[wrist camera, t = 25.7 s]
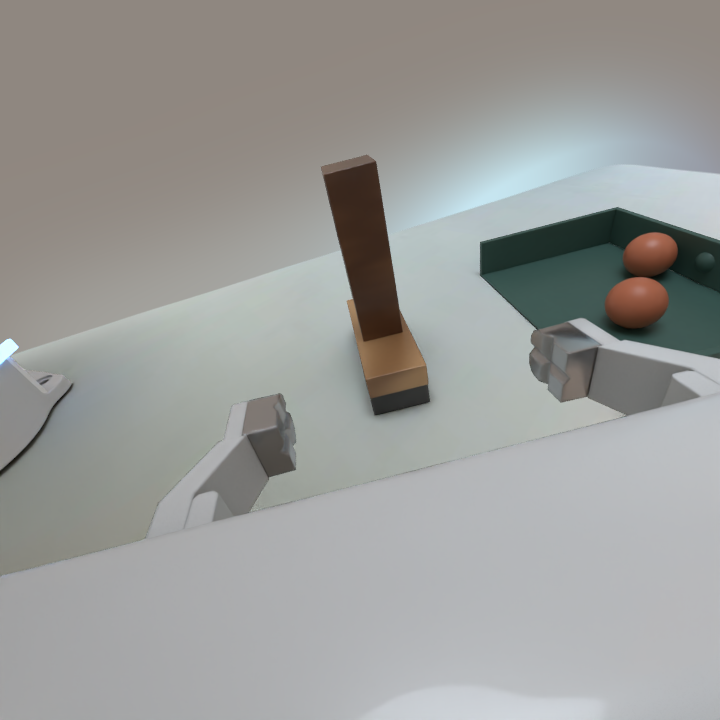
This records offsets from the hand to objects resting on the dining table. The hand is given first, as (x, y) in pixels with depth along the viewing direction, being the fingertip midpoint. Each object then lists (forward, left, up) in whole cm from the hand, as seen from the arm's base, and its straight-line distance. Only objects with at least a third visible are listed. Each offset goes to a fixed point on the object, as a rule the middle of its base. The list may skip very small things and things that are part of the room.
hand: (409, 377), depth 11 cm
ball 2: (+7, +18, -7) cm, 21 cm away
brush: (-7, +9, -8) cm, 14 cm away
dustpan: (+9, +23, -8) cm, 26 cm away
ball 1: (+6, +24, -6) cm, 25 cm away
